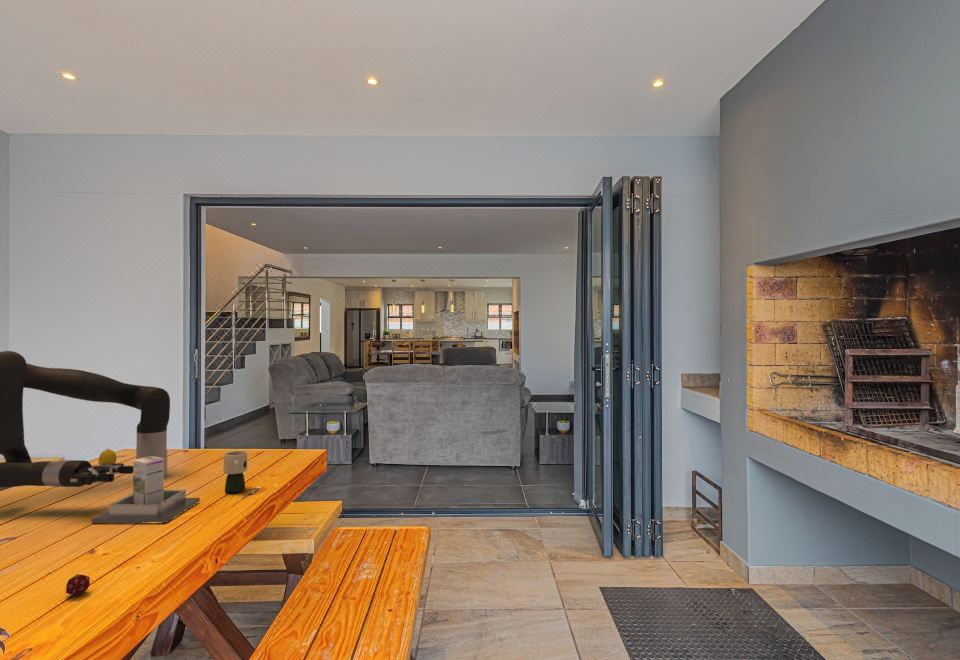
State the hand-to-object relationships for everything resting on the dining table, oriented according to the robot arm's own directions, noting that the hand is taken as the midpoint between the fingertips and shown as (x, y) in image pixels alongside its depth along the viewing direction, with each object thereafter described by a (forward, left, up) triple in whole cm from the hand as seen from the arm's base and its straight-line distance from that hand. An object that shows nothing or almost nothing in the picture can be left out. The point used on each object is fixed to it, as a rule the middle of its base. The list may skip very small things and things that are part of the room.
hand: (123, 473), depth 149 cm
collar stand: (0, +8, -11) cm, 14 cm away
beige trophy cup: (-20, +24, -12) cm, 33 cm away
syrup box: (0, +8, -10) cm, 13 cm away
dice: (+47, +23, -12) cm, 54 cm away
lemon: (-47, -37, -12) cm, 61 cm away
